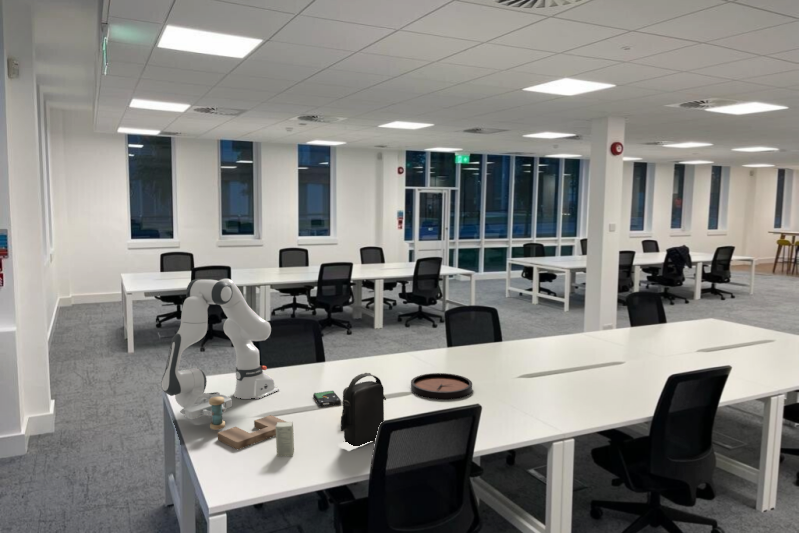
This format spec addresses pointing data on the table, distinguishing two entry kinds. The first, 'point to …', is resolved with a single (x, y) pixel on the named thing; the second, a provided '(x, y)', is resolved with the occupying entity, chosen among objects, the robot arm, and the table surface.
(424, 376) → the wall clock
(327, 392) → the disk drive
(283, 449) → the skincare box
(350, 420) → the shoulder bag
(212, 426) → the bobbin
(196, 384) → the robot arm
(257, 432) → the notched board
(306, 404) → the table surface
